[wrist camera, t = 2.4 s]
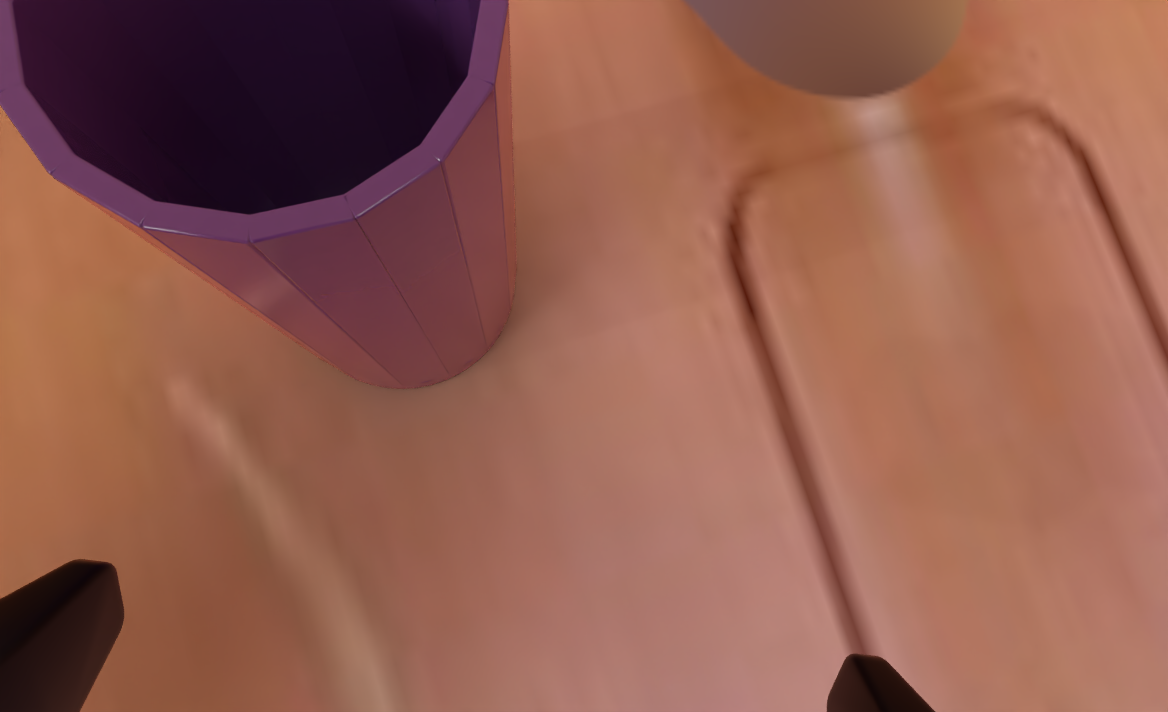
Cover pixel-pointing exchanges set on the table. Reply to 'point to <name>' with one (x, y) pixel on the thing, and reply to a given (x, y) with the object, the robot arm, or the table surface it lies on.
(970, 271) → the table surface
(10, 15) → the tumbler
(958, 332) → the table surface
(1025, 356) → the table surface
